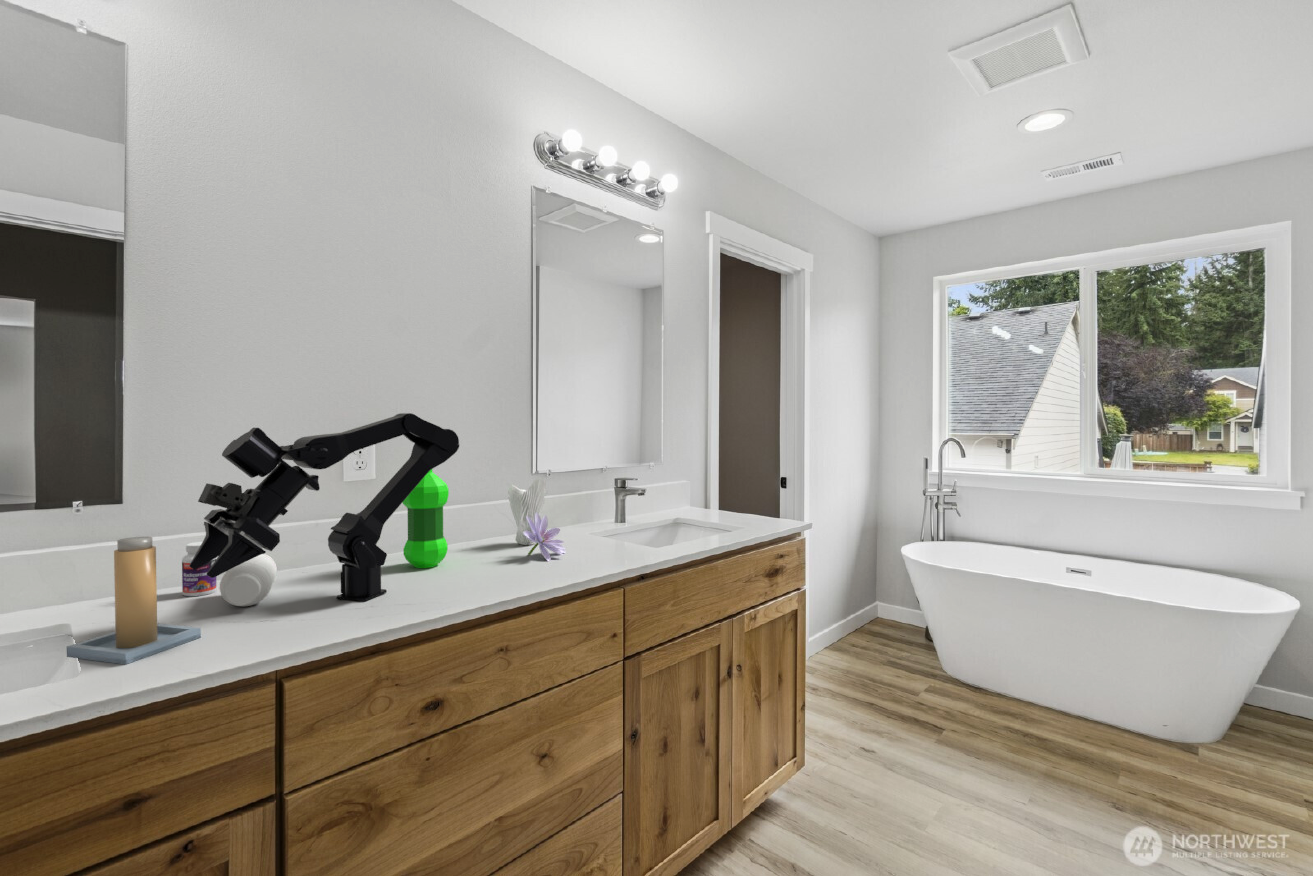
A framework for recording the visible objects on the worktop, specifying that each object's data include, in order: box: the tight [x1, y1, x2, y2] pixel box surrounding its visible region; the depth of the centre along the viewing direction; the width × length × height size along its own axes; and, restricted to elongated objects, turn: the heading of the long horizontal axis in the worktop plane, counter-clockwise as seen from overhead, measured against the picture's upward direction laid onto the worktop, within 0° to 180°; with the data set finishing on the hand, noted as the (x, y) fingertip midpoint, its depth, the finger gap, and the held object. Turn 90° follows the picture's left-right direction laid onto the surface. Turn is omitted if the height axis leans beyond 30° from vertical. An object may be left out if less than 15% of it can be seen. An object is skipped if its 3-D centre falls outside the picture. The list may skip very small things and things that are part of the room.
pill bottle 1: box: [181, 541, 217, 597], centre depth 122 cm, size 5×5×10 cm
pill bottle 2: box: [219, 553, 278, 608], centre depth 116 cm, size 8×8×15 cm
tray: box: [66, 622, 202, 665], centre depth 93 cm, size 11×11×2 cm
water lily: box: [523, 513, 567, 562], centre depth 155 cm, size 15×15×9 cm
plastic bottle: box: [402, 469, 450, 569], centre depth 145 cm, size 10×10×25 cm
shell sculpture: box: [507, 477, 547, 546], centre depth 169 cm, size 8×8×18 cm
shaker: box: [113, 536, 158, 648], centre depth 93 cm, size 5×5×16 cm
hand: (200, 572), depth 100 cm, fingers open, 9 cm apart
